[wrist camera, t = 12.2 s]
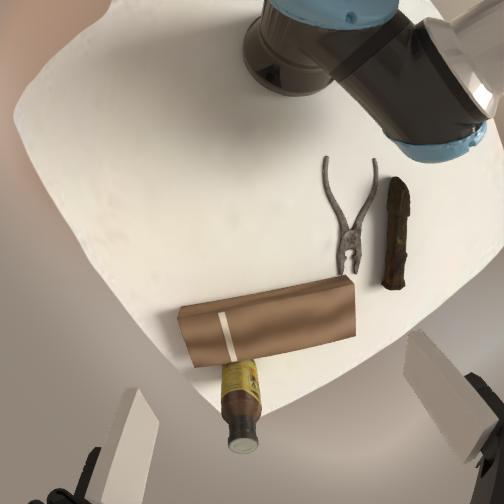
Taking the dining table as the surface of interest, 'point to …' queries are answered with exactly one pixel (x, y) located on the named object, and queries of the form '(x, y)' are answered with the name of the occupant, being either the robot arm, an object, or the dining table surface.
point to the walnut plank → (269, 322)
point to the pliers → (347, 236)
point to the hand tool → (396, 234)
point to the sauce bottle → (241, 404)
